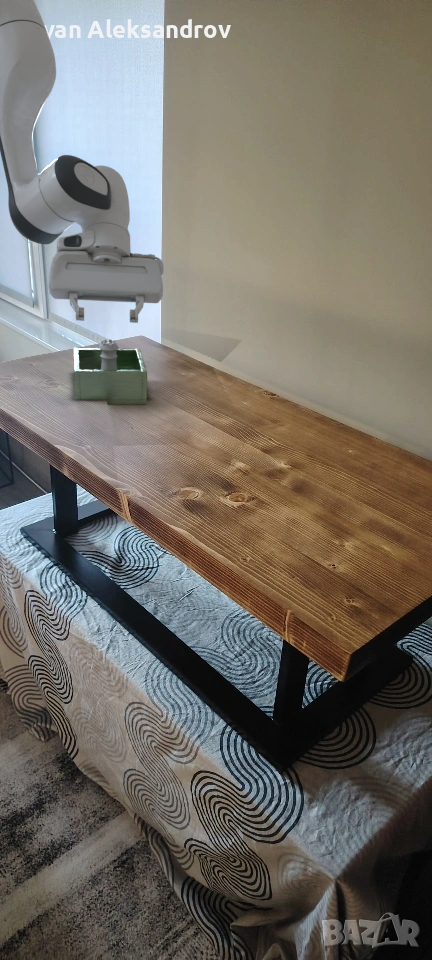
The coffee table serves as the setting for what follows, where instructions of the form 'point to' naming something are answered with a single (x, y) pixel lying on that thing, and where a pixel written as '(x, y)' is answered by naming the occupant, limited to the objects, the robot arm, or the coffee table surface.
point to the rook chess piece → (108, 354)
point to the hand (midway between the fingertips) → (107, 320)
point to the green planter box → (110, 377)
